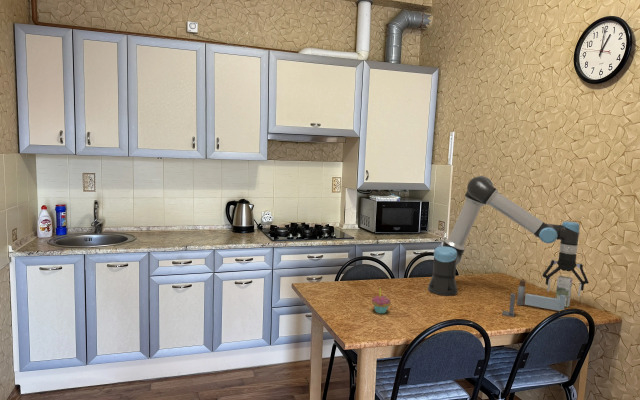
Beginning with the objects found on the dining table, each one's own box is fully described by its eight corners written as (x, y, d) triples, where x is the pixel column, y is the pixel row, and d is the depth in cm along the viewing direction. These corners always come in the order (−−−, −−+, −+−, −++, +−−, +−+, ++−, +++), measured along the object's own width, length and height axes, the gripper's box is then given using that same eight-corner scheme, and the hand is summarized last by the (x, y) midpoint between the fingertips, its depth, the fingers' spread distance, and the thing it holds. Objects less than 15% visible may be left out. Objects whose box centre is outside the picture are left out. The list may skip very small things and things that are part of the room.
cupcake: (385, 316, 189) (387, 290, 188) (367, 312, 194) (369, 286, 193) (392, 311, 197) (394, 285, 196) (375, 306, 201) (377, 282, 200)
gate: (516, 304, 213) (518, 287, 213) (516, 302, 216) (518, 285, 215) (563, 313, 204) (565, 294, 203) (563, 311, 207) (565, 293, 206)
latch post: (502, 314, 199) (504, 293, 198) (503, 311, 203) (504, 291, 202) (513, 317, 196) (515, 296, 195) (514, 313, 201) (516, 293, 200)
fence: (517, 303, 217) (519, 285, 216) (518, 296, 228) (520, 279, 227) (523, 304, 216) (524, 286, 215) (524, 297, 227) (525, 280, 226)
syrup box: (569, 305, 217) (572, 277, 216) (567, 308, 213) (570, 279, 212) (557, 302, 221) (560, 275, 220) (554, 304, 217) (557, 277, 215)
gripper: (540, 250, 217) (535, 290, 219) (598, 257, 205) (592, 300, 208) (540, 247, 223) (535, 287, 225) (596, 255, 212) (591, 296, 214)
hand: (563, 293), depth 216 cm, fingers open, 13 cm apart
